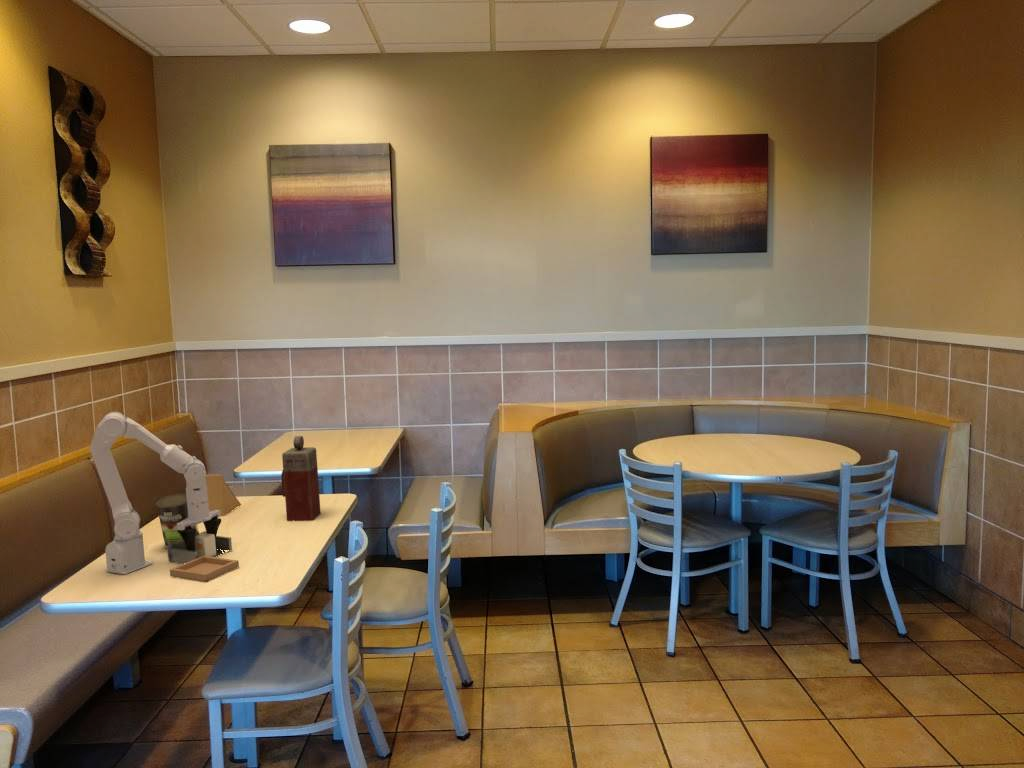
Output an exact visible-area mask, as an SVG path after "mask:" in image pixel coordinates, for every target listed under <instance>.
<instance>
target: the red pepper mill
mask: <svg viewBox="0 0 1024 768" xmlns="http://www.w3.org/2000/svg"><path fill="white" fill-rule="evenodd" d="M292 441H293V447H292V448H288V449H287V450H286V451H284V452H282V454H281V460H282V471H281V475H280V476H281V477H280V478H281V487H282V488H281V490H282V497H283V498H285V512H286V515H285V516H286V521H287V522H303V521H304V522H305V521H306V522H307V521H311V522H312V521H314V520H315V519H316V518H318V516H319V515H321V514H322V513H321V501H320V500H321V499H320V489H319V488H320V485H319V472H318V471H319V467H318V458H317V448H316V447H314V446H313V447H312V446H311V447H304V445H305V439H304V437H303V436H302V435H298V436H297V435H295V436H294V437H293V440H292ZM293 520H294V521H293Z"/></svg>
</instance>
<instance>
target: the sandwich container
mask: <svg viewBox="0 0 1024 768" xmlns="http://www.w3.org/2000/svg"><path fill="white" fill-rule="evenodd" d="M205 479H206V485H207V494H208V505H209V512H210V511H214V510H220V515H221V517H225V516H227V515H228V513H229V514H230V513H232V512H233V511H235V510H236V509H237V508H236V507H238V506H239V507H241V506H242V504H241V502H240V500H239V499H238V498H237V497H236V495H235V494H234V492H233V491H232V490H231V488H230V487H229V485H228V484H227V482H226V480H225V479H224V477H223V476H222V474H220V473H219V474H217V473H216V474H215V473H214V474H206V477H205ZM240 505H241V506H240ZM239 507H238V508H239ZM235 508H236V509H235ZM234 509H235V510H234ZM232 510H233V511H232ZM231 511H232V512H231ZM226 514H227V515H226Z"/></svg>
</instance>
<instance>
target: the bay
mask: <svg viewBox="0 0 1024 768" xmlns="http://www.w3.org/2000/svg"><path fill="white" fill-rule="evenodd" d="M200 533H206V530H204V531H201V532H200ZM206 534H207V533H206ZM215 545H216V555H214V556H211V557H216V556H218V555H220V554H223V553H222V551H221V550H223V552H224V553H225V551H224V550H229V551H230V550H232V551H233V544H232V537H230V536H222V535H221V536H220V535H216V540H215ZM167 548H168V549H167ZM167 548H166V549H167V559H168V562H169V561H170V562H169V563H173V562H178V563H177V564H180V563H183V564H184V563H187V562H190V561H192V560H194V559H197V558H198V555H197V551H194V550H187V547H186V544H185V542H184V540H183V539H182V540H179V541H177V542H174V543H171V544H169V545H167ZM217 549H218V550H217ZM220 549H221V550H220ZM230 552H231V551H230ZM225 554H226V553H225ZM223 555H224V554H223ZM220 556H221V555H220ZM218 557H219V556H218Z"/></svg>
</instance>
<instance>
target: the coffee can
mask: <svg viewBox="0 0 1024 768" xmlns="http://www.w3.org/2000/svg"><path fill="white" fill-rule="evenodd" d="M155 506H156V508H157V513H158V517H159V523H160V528H161V532H162V537H163V542H164V547H165V548H166V549H167V550H168V548H167V545H169V544H171V543H174V542H177V541H179V540H182V539H183V538H182V537H181V535H180V534H179V533H178V531H177V523H179V522H181V521H183V520H185V519H186V518H188V508H187V497H186V492H185V493H181V492H180V493H173V494H169V495H166V496H164V497H162V498H160V499H159V500H157V501H156V503H155ZM191 528H192V529H197V531H199V527H198V524H196V525H194V526H191Z"/></svg>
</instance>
